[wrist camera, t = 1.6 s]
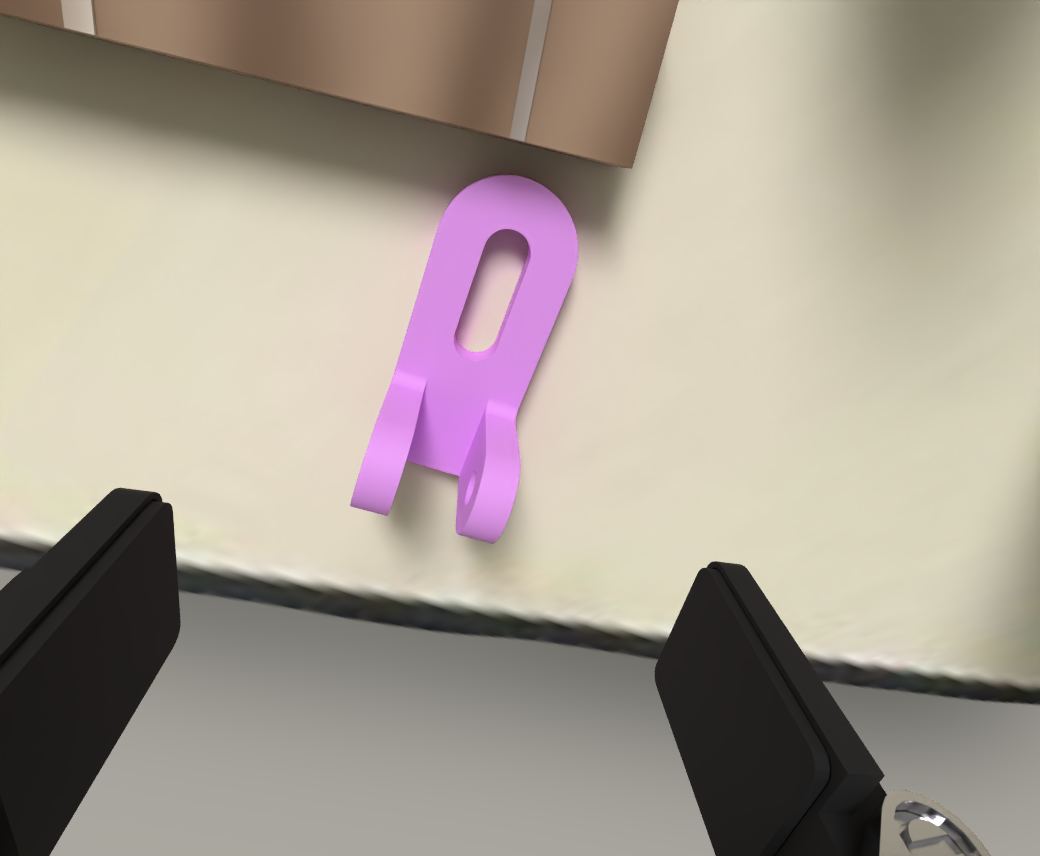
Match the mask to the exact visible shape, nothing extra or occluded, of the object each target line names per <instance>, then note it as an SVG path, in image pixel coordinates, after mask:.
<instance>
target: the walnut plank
mask: <svg viewBox="0 0 1040 856" xmlns="http://www.w3.org/2000/svg"><path fill="white" fill-rule="evenodd" d="M678 2H679V0H0V15H4V16H8V17H12V18H16V19H20V20H24V21H28V22H32V23H36V24H40V25H44V26H48V27H52V28H57V29H61V30H65V31H69V32H73V33H77V34H81V35H85V36H89V37H93V38H97V39H101V40H105V41H109V42H113V43H117V44H121V45H125V46H129V47H133V48H137V49H141V50H146V51H150V52H154V53H158V54H162V55H166V56H170V57H174V58H178V59H182V60H186V61H190V62H194V63H198V64H202V65H206V66H210V67H214V68H218V69H222V70H226V71H230V72H235V73H239V74H243V75H247V76H251V77H255V78H259V79H263V80H267V81H271V82H275V83H279V84H283V85H287V86H291V87H295V88H299V89H303V90H307V91H311V92H315V93H320V94H324V95H328V96H332V97H336V98H340V99H344V100H348V101H352V102H356V103H360V104H364V105H368V106H372V107H376V108H380V109H384V110H388V111H392V112H396V113H400V114H404V115H409V116H413V117H417V118H421V119H425V120H429V121H433V122H437V123H441V124H445V125H449V126H453V127H457V128H461V129H465V130H469V131H473V132H477V133H481V134H485V135H489V136H494V137H498V138H502V139H506V140H510V141H514V142H518V143H522V144H526V145H530V146H534V147H538V148H542V149H546V150H550V151H554V152H558V153H562V154H566V155H570V156H574V157H578V158H583V159H587V160H591V161H595V162H599V163H603V164H607V165H611V166H617V167H624V168H632V167H633V163H634V160H635V156H636V152H637V149H638V145H639V142H640V138H641V135H642V131H643V127H644V124H645V120H646V117H647V113H648V109H649V106H650V102H651V99H652V95H653V91H654V88H655V84H656V81H657V77H658V73H659V70H660V66H661V63H662V59H663V55H664V52H665V48H666V45H667V41H668V38H669V34H670V30H671V27H672V23H673V20H674V16H675V12H676V9H677V5H678Z"/></svg>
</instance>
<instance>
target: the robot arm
mask: <svg viewBox="0 0 1040 856" xmlns="http://www.w3.org/2000/svg"><path fill="white" fill-rule="evenodd" d="M179 631H180V608H179V594H178V579H177V565H176V550H175V536H174V521H173V510H172V506H171V504H169V503H164V502H162V498H161V496H160V494H158V493H156V492H149V491H141V490H133V489H125V488H117V489H114V490H113V491H111V492H110V493H109V494H108V495H107V496H106V497H105V498H104V499H103V500H102V501H101V502H100V503H99V504H97V505H96V506H95V507H94V508H93V509H92V510H91V511H90V512H89V513H88V514H87V515H86V516H85V517H84V518H83V519H82V520H81V521H80V522H79V523H78V524H76V525H75V526H74V527H73V528H72V529H71V530H70V531H69V532H68V533H67V534H66V535H65V536H64V537H63V538H62V539H61V540H60V541H59V542H58V543H57V544H56V545H54V546H53V547H52V548H51V549H50V550H49V551H48V552H47V553H46V554H45V555H44V556H43V557H42V558H41V559H40V560H39V561H38V562H37V563H36V564H35V565H33V566H32V567H29V568H26V569H25V570H23V571H22V572H21V573H19V574H18V575H17V576H16V577H14V578H13V579H12V580H11V581H10V582H9V583H8V584H7V585H6V586H5V587H4V588H3V589H2V590H0V856H49V855H50V854H51V852H52V850H53V849H54V847H55V845H56V843H57V842H58V840H59V838H60V836H61V835H62V833H63V832H64V830H65V828H66V827H67V825H68V823H69V822H70V820H71V818H72V817H73V815H74V813H75V812H76V810H77V808H78V806H79V805H80V803H81V801H82V800H83V798H84V796H85V795H86V793H87V791H88V790H89V788H90V786H91V785H92V783H93V781H94V780H95V778H96V776H97V775H98V773H99V771H100V769H101V768H102V766H103V764H104V763H105V761H106V759H107V758H108V756H109V754H110V753H111V751H112V749H113V748H114V746H115V744H116V743H117V741H118V739H119V737H120V736H121V734H122V733H123V731H124V729H125V727H126V726H127V724H128V722H129V721H130V719H131V717H132V716H133V714H134V712H135V711H136V709H137V707H138V705H139V704H140V702H141V700H142V699H143V697H144V696H145V694H146V692H147V691H148V689H149V687H150V685H151V684H152V682H153V680H154V679H155V677H156V675H157V674H158V672H159V670H160V669H161V667H162V665H163V663H164V662H165V660H166V658H167V657H168V655H169V654H170V652H171V650H172V649H173V647H174V645H175V643H176V640H177V638H178V634H179ZM655 682H656V686H657V689H658V692H659V695H660V697H661V700H662V703H663V706H664V709H665V712H666V715H667V718H668V720H669V723H670V726H671V729H672V732H673V735H674V737H675V740H676V743H677V746H678V749H679V752H680V755H681V757H682V760H683V763H684V766H685V769H686V772H687V775H688V778H689V780H690V783H691V786H692V789H693V792H694V795H695V798H696V800H697V803H698V806H699V809H700V812H701V814H702V818H703V820H704V823H705V826H706V829H707V832H708V835H709V838H710V840H711V843H712V846H713V849H714V852H715V855H716V856H990V854H989V852H988V850H987V849H986V848H985V847H984V845H983V844H982V843H981V842H980V840H979V839H978V838H977V837H976V835H975V834H974V833H973V832H972V831H971V830H970V829H969V828H968V827H967V826H966V825H965V824H964V823H963V822H962V821H961V820H960V819H959V818H957V817H956V816H955V815H954V814H952V813H951V812H950V811H948V810H947V809H946V808H944V807H943V806H941V805H940V804H939V803H937V802H935V801H933V800H931V799H929V798H927V797H925V796H923V795H921V794H918V793H914V792H911V791H907V790H900V791H899V790H898V791H893V792H891V793H890V794H888V795H887V794H886V793H885V791H884V790H883V788H882V787H881V785H880V783H879V782H880V781H881V780H882V778H883V777H884V774H883V772H882V771H881V769H880V768H879V766H878V765H877V764H876V762H875V760H874V759H873V757H872V756H871V754H870V753H869V751H868V750H867V748H866V747H865V745H864V744H863V742H862V741H861V739H860V738H859V736H858V735H857V733H856V732H855V731H854V729H853V727H852V726H851V724H850V723H849V721H848V720H847V718H846V717H845V715H844V714H843V712H842V711H841V709H840V708H839V706H838V705H837V703H836V702H835V700H834V699H833V697H832V696H831V694H830V693H829V691H828V690H827V688H826V687H825V685H824V684H823V682H822V681H821V679H820V678H819V676H818V675H817V673H816V672H815V670H814V669H813V667H812V666H811V664H810V663H809V661H808V660H807V658H806V657H805V655H804V654H803V652H802V651H801V649H800V647H799V646H798V644H797V643H796V641H795V640H794V638H793V637H792V635H791V634H790V632H789V631H788V629H787V628H786V626H785V625H784V623H783V622H782V620H781V619H780V617H779V616H778V614H777V613H776V611H775V610H774V608H773V607H772V605H771V604H770V602H769V601H768V599H767V598H766V596H765V595H764V593H763V592H762V590H761V589H760V587H759V586H758V584H757V583H756V581H755V580H754V578H753V577H752V575H751V574H750V572H749V571H748V570H747V568H746V567H745V566H743V565H740V564H732V563H724V562H716V561H715V562H711V563H710V564H709V565H708V566H707V568H702V569H701V570H700V571H699V572H698V574H697V576H696V578H695V581H694V583H693V585H692V587H691V589H690V591H689V594H688V596H687V598H686V600H685V602H684V605H683V607H682V609H681V611H680V613H679V616H678V618H677V620H676V622H675V624H674V627H673V629H672V631H671V633H670V635H669V637H668V640H667V642H666V644H665V646H664V648H663V651H662V653H661V655H660V657H659V659H658V662H657V664H656V667H655Z"/></svg>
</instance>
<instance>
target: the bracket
mask: <svg viewBox="0 0 1040 856" xmlns="http://www.w3.org/2000/svg"><path fill="white" fill-rule="evenodd" d="M502 229H512V230H515V231H518V232H519V233H521V234H522V235H523V236H524V237H525V238H526V239H527V242H528V255H527V258H526V261H525V263H524V266H523V269H522V271H521V274H520V277H519V279H518V282H517V285H516V287H515V290H514V293H513V295H512V298H511V301H510V303H509V306H508V309H507V311H506V314H505V317H504V319H503V322H502V325H501V327H500V330H499V333H498V335H497V338H496V340H495V342H494V344H493V345H492V346H491V347H490V348H488V349H487V350H485V351H482V352H472V351H468V350H466V349H464V348H463V347H462V346H461V345H460V344H459V343H458V341H457V339H456V336H455V331H456V328H457V325H458V322H459V319H460V316H461V313H462V310H463V307H464V304H465V301H466V299H467V296H468V293H469V290H470V287H471V284H472V281H473V278H474V275H475V272H476V269H477V266H478V263H479V260H480V257H481V254H482V251H483V249H484V246H485V243H486V241H487V240H488V238H489V237H490V236H491V235H492V234H493V233H495V232H496V231H499V230H502ZM577 260H578V239H577V233H576V229H575V226H574V223H573V221H572V218H571V216H570V214H569V212H568V210H567V209H566V207H565V206H564V205H563V203H562V202H561V201H560V200H559V198H558V197H557V196H556V195H555V194H553V193H552V192H551V191H550V190H549V189H547V188H546V187H544V186H543V185H541V184H539V183H538V182H536V181H534V180H532V179H529V178H527V177H523V176H520V175H514V174H496V175H491V176H487V177H484V178H481V179H479V180H477V181H474V182H473V183H471V184H469V185H468V186H466V187H465V188H464V189H463V190H461V191H460V192H459V193H458V194H457V195H456V196H455V197H454V199H453V200H452V201H451V202H450V204H449V206H448V207H447V209H446V211H445V212H444V214H443V216H442V218H441V221H440V223H439V226H438V229H437V233H436V236H435V239H434V243H433V246H432V249H431V253H430V256H429V259H428V263H427V266H426V269H425V273H424V276H423V279H422V282H421V286H420V289H419V292H418V296H417V299H416V302H415V306H414V309H413V312H412V316H411V319H410V322H409V326H408V329H407V332H406V336H405V339H404V342H403V346H402V349H401V352H400V356H399V359H398V362H397V366H396V369H395V372H394V375H393V378H392V381H391V384H390V387H389V389H388V392H387V395H386V397H385V400H384V402H383V405H382V408H381V410H380V413H379V416H378V418H377V421H376V424H375V427H374V430H373V433H372V435H371V438H370V442H369V445H368V448H367V451H366V454H365V457H364V460H363V463H362V466H361V470H360V473H359V476H358V479H357V483H356V486H355V489H354V493H353V497H352V500H351V504H350V506H352V507H355V508H359V509H363V510H367V511H371V512H374V513H378V514H382V515H386V516H388V514H389V511H390V508H391V506H392V503H393V500H394V497H395V494H396V491H397V488H398V485H399V482H400V479H401V475H402V472H403V469H404V466H405V463H406V461H408V462H412V463H415V464H419V465H422V466H426V467H429V468H433V469H436V470H440V471H443V472H447V473H450V474H454V475H457V476H459V485H458V500H457V516H456V533H457V534H458V535H462V536H466V537H470V538H474V539H477V540H481V541H485V542H489V543H494V542H496V541H497V540H498V538H499V537H500V535H501V534H502V532H503V530H504V528H505V526H506V523H507V521H508V518H509V516H510V513H511V510H512V507H513V504H514V500H515V496H516V492H517V488H518V483H519V477H520V454H519V446H518V438H517V431H516V423H515V421H516V415H517V412H518V409H519V406H520V404H521V401H522V399H523V397H524V394H525V392H526V390H527V387H528V385H529V382H530V380H531V378H532V375H533V373H534V370H535V368H536V366H537V363H538V361H539V358H540V356H541V354H542V351H543V349H544V346H545V344H546V342H547V339H548V337H549V334H550V332H551V330H552V327H553V325H554V322H555V320H556V318H557V315H558V313H559V310H560V308H561V306H562V303H563V301H564V298H565V296H566V294H567V291H568V289H569V286H570V284H571V282H572V279H573V276H574V274H575V270H576V266H577Z"/></svg>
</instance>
